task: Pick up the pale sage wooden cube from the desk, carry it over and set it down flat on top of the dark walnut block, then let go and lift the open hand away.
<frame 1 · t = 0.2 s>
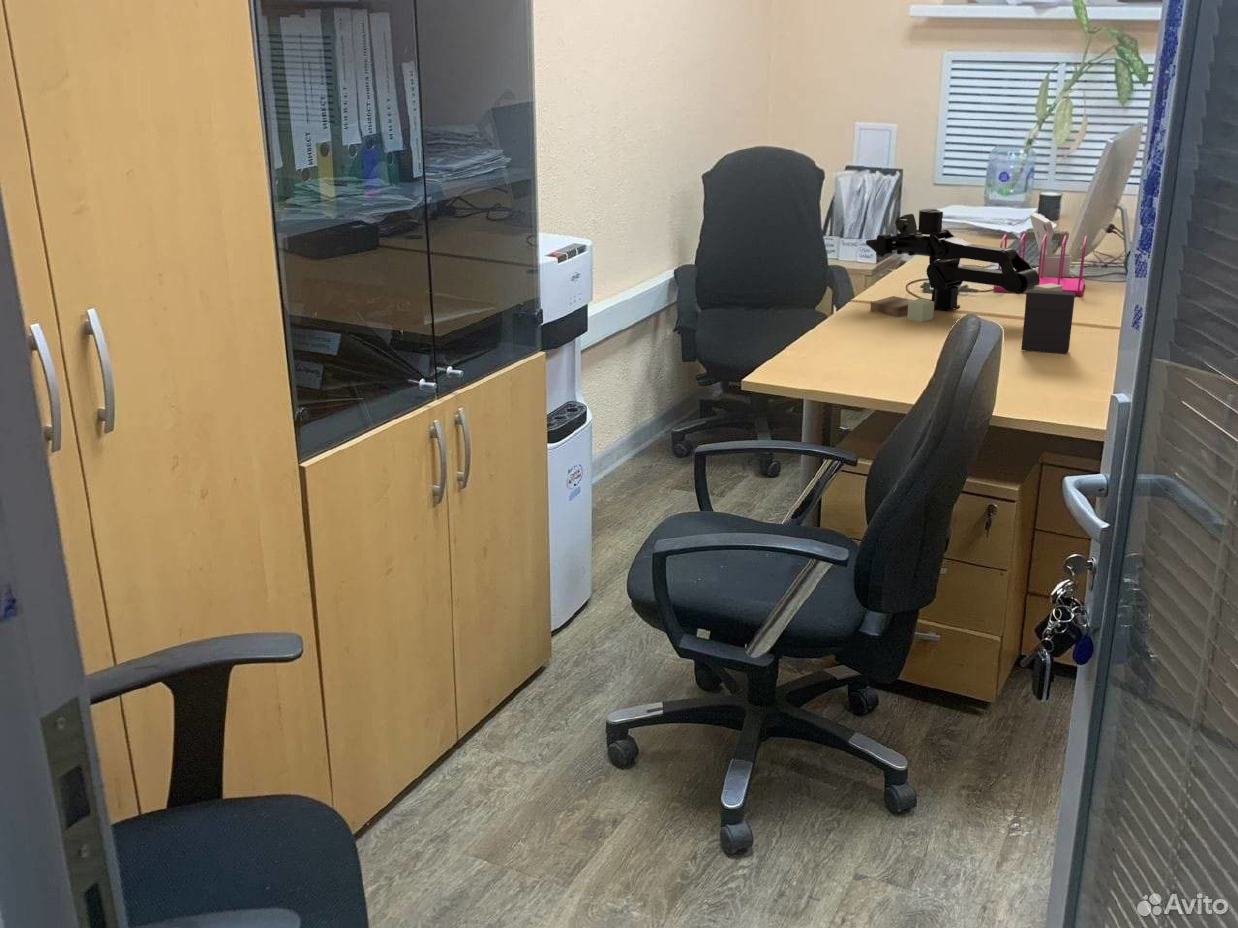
hand: (875, 240, 344), 16 cm above the table, tool horizontal, fingers open, 9 cm apart
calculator: (1044, 351, 287), on the table
skincare box: (1043, 331, 305), on the table
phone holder: (1047, 272, 372), on the table
walnut block: (895, 312, 331), on the table
file sorter: (1039, 289, 351), on the table
sage cube: (920, 319, 321), on the table
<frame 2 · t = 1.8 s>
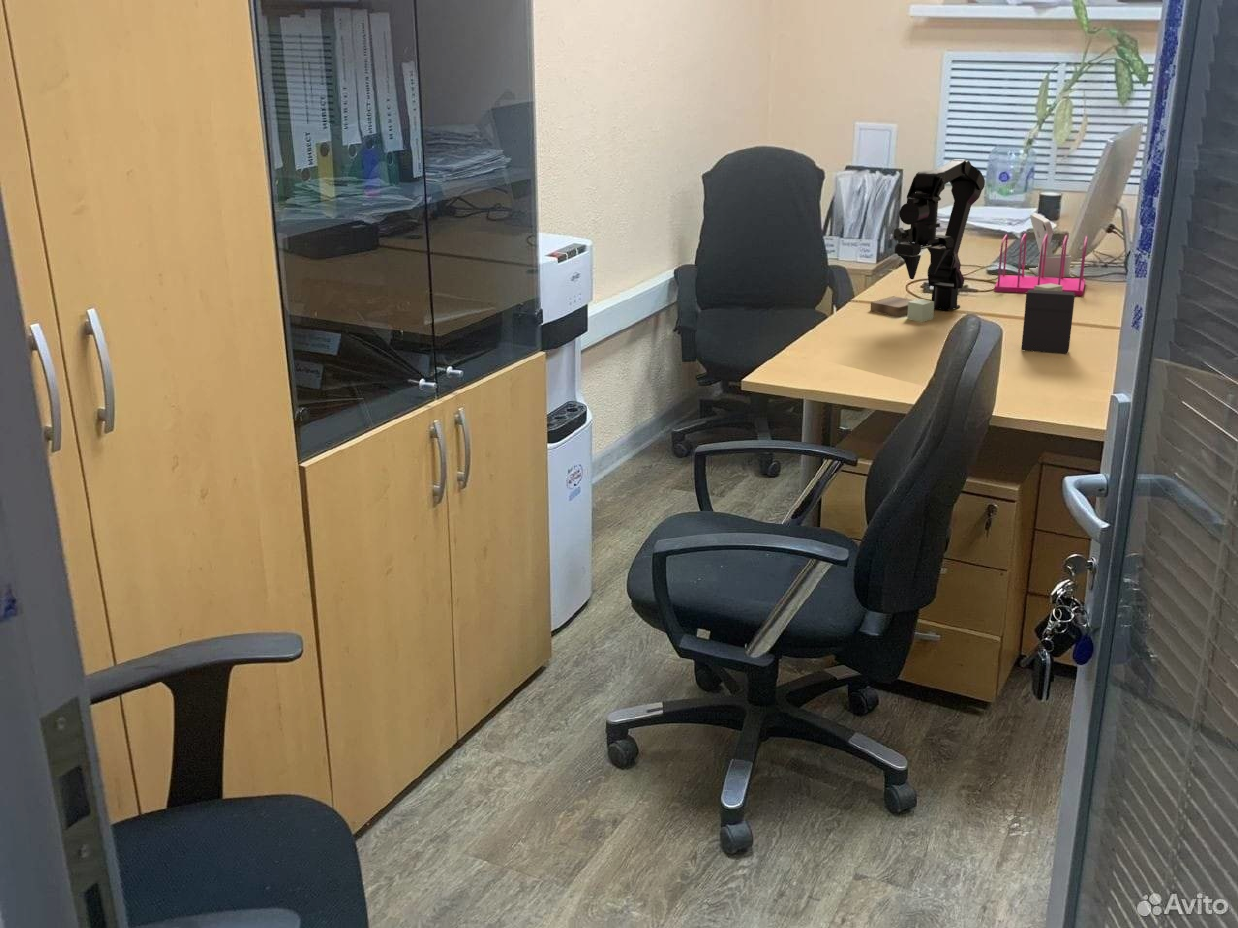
hand: (922, 276, 317), 12 cm above the table, tool pointing down, fingers open, 9 cm apart
nothing on the table moved.
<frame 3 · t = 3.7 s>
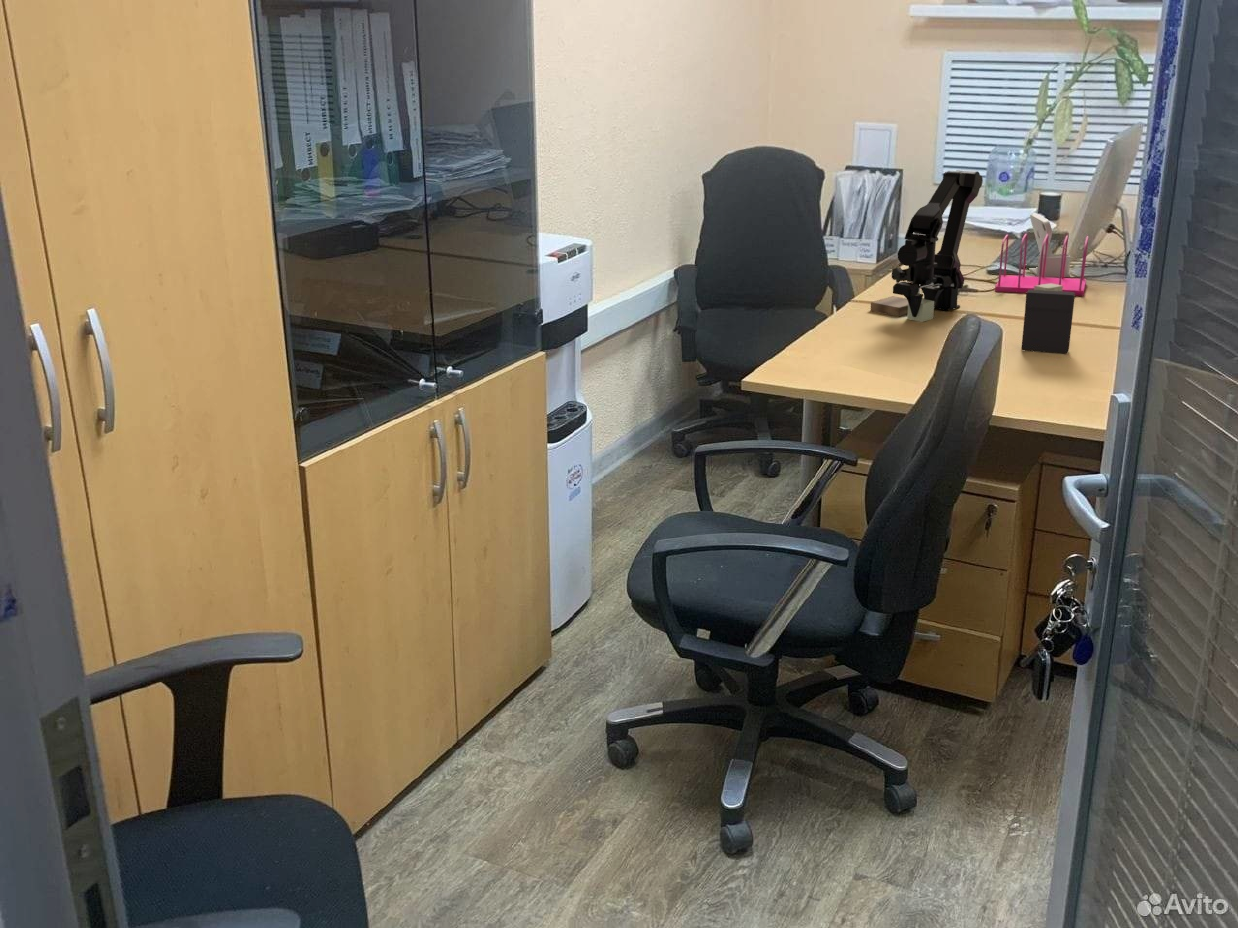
hand: (920, 315, 320), 1 cm above the table, tool pointing down, fingers closed on sage cube, 5 cm apart
sage cube: (920, 318, 321), on the table, touching gripper
everything else where it was.
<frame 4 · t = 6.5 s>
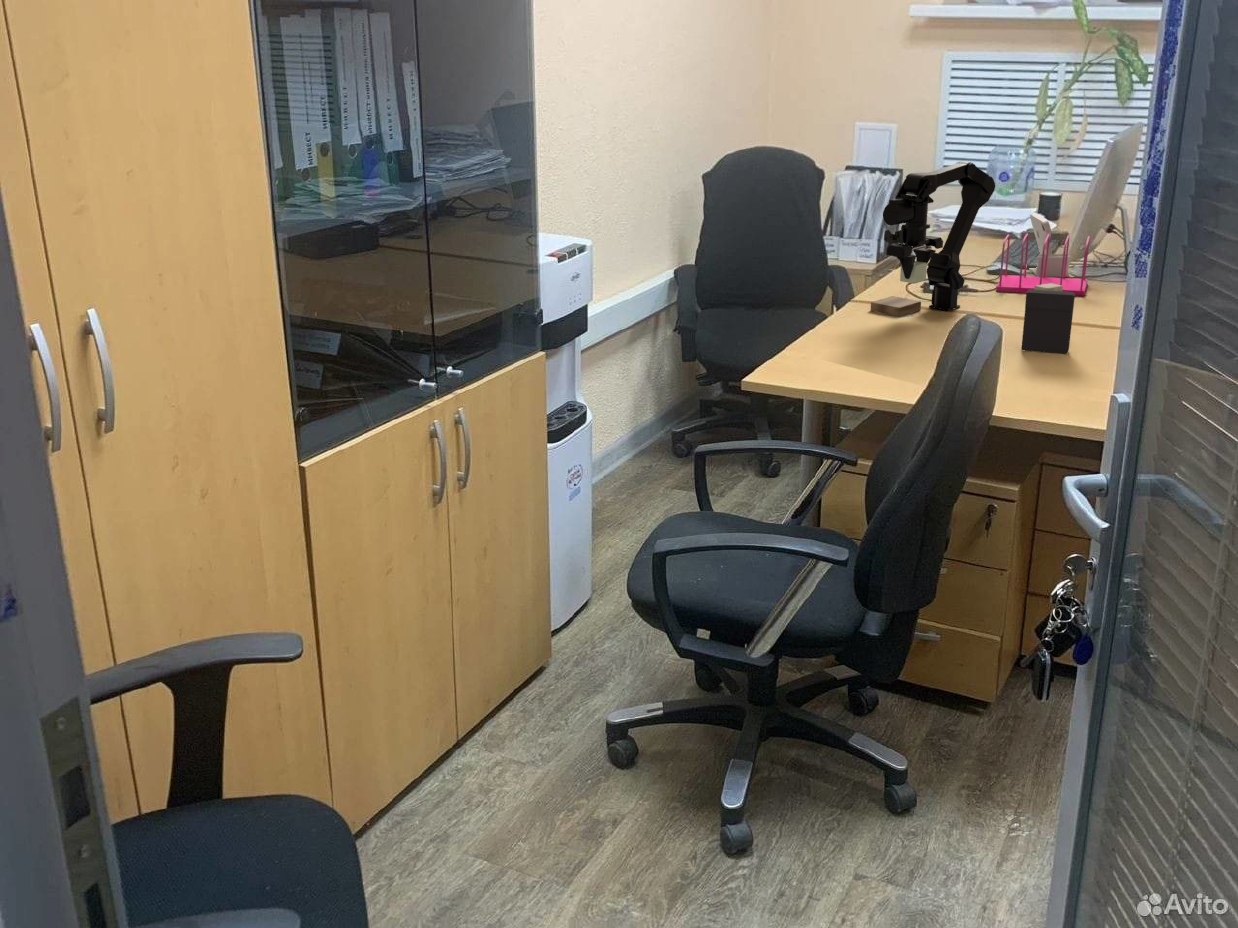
hand: (913, 277, 320), 11 cm above the table, tool pointing down, fingers closed on sage cube, 5 cm apart
sage cube: (912, 280, 321), point 10 cm above the table, touching gripper
everything else where it was.
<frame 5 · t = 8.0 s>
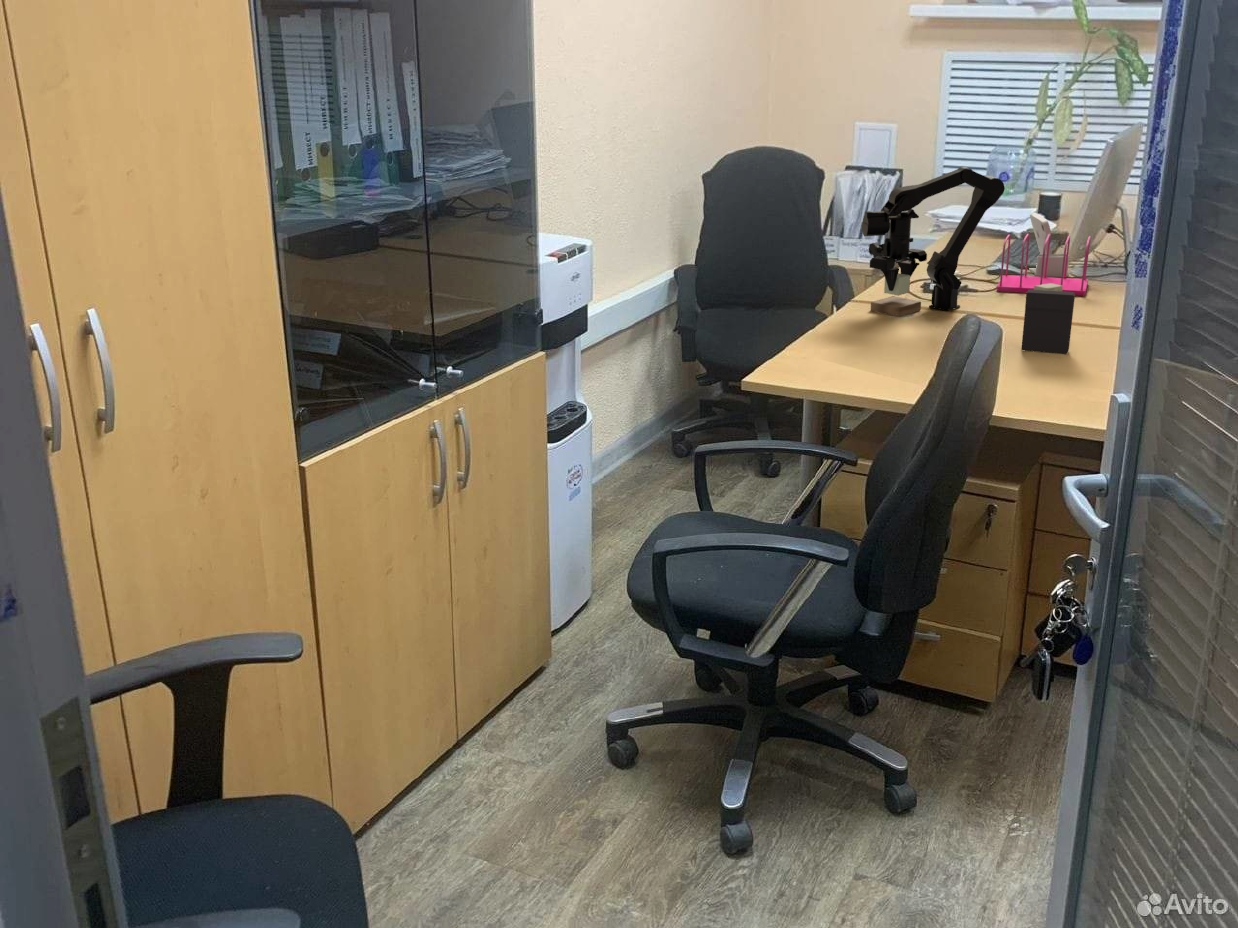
hand: (897, 289, 328), 6 cm above the table, tool pointing down, fingers closed on sage cube, 5 cm apart
sage cube: (896, 292, 329), point 5 cm above the table, touching gripper
everything else where it was.
when the fingers open (5 cm above the table, at t = 9.0 s): sage cube drops 1 cm, resting on walnut block.
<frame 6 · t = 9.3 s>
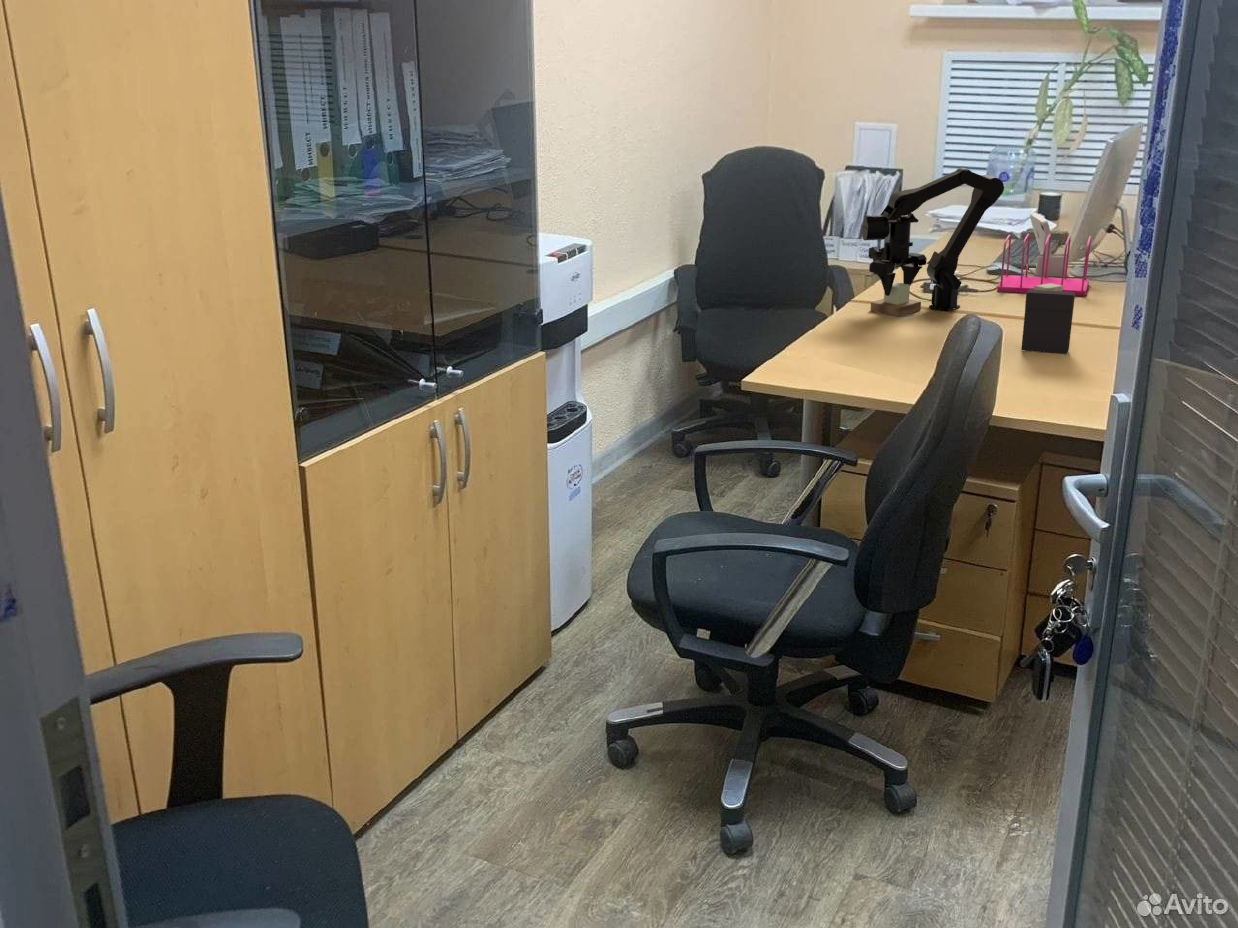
hand: (896, 293, 329), 5 cm above the table, tool pointing down, fingers open, 8 cm apart
walnut block: (895, 312, 331), on the table, touching sage cube
sage cube: (896, 301, 330), point 2 cm above the table, touching walnut block
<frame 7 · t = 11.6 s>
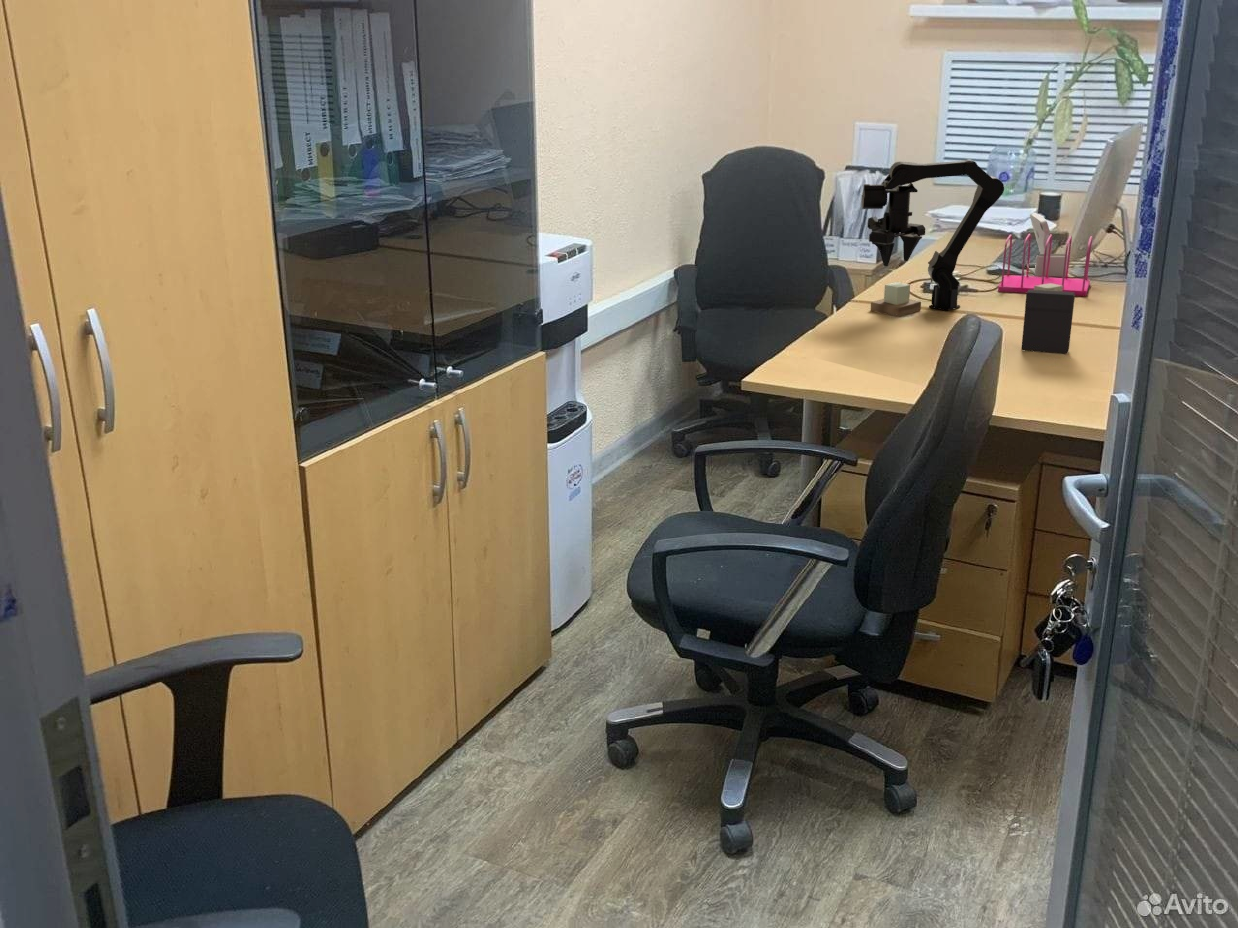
hand: (895, 263, 328), 13 cm above the table, tool pointing down, fingers open, 9 cm apart
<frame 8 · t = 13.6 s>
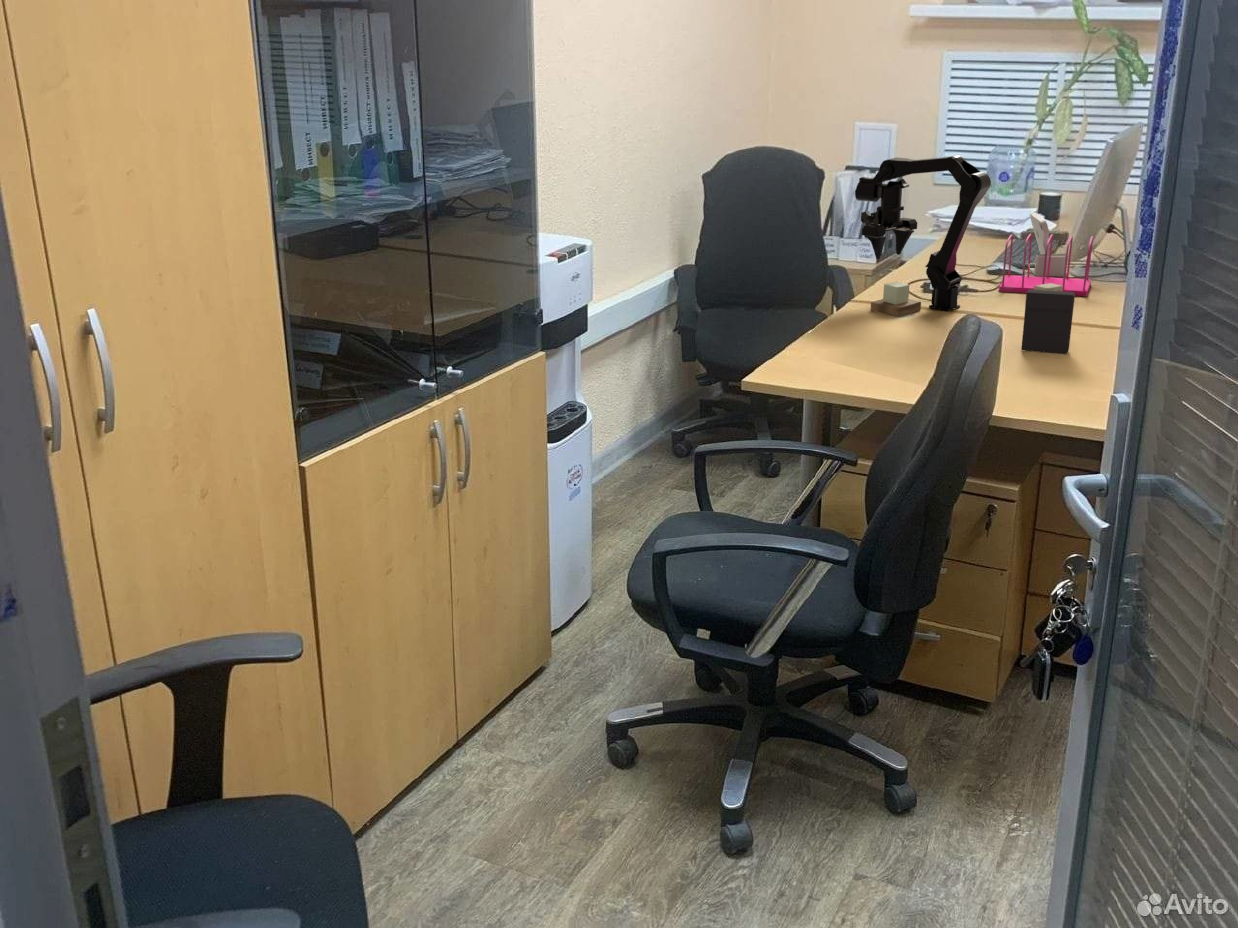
hand: (888, 256, 338), 13 cm above the table, tool pointing down, fingers open, 9 cm apart
walnut block: (895, 312, 331), on the table
sage cube: (895, 301, 330), point 3 cm above the table
at the end: sage cube inside the target area on the walnut block (0.2 cm from its centre), point 3.0 cm above the walnut block's base; sage cube tilted 0°; the gripper is holding nothing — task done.
